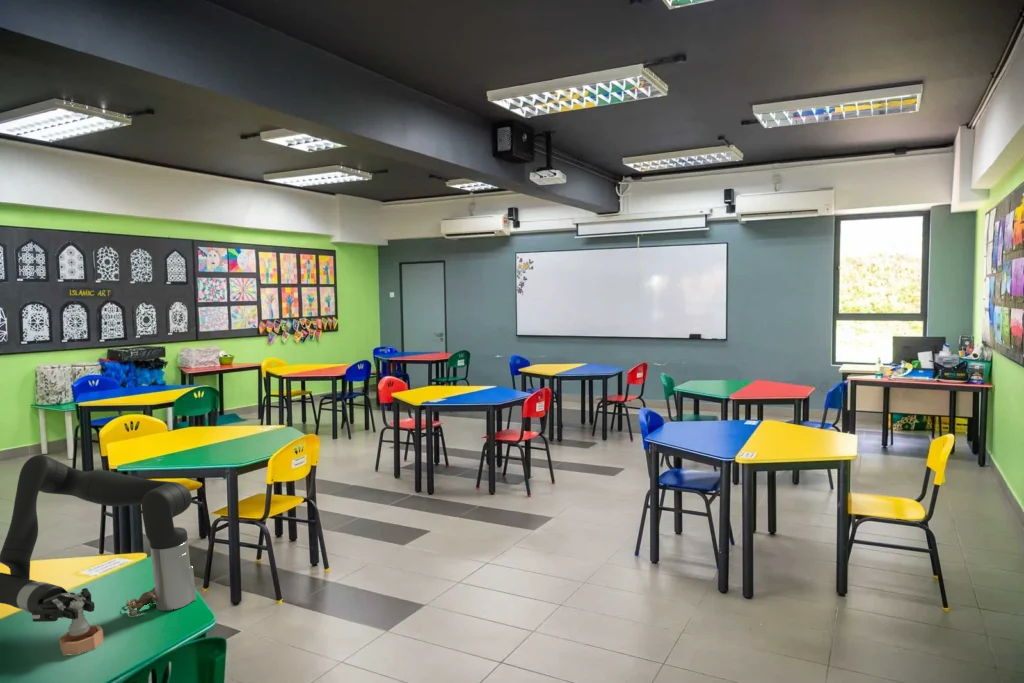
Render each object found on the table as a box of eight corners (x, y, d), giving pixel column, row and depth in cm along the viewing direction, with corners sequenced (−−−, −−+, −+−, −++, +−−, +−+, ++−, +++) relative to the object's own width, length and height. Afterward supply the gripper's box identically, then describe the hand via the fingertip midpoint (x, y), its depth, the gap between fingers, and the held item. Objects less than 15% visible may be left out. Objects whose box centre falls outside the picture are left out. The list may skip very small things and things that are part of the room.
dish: (97, 632, 171) (96, 621, 170) (106, 644, 165) (105, 632, 164) (58, 646, 165) (56, 635, 164) (66, 659, 159) (64, 647, 158)
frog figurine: (152, 593, 193) (150, 580, 192) (175, 602, 186) (174, 589, 186) (110, 611, 183) (109, 597, 183) (134, 621, 177) (132, 607, 176)
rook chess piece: (86, 625, 168) (83, 595, 167) (93, 631, 165) (89, 600, 164) (66, 633, 164) (62, 602, 163) (72, 639, 161) (69, 607, 160)
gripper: (9, 597, 163) (53, 610, 156) (68, 573, 176) (111, 583, 169) (13, 626, 164) (56, 640, 157) (71, 600, 177) (114, 612, 169)
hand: (84, 611), depth 163 cm, fingers closed on rook chess piece, 3 cm apart
